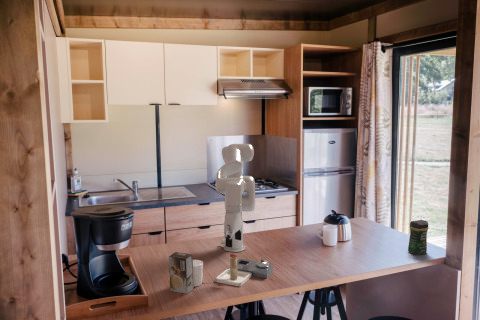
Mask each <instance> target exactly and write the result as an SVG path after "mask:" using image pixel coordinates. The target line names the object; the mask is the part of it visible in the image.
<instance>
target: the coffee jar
mask: <svg viewBox="0 0 480 320" xmlns="http://www.w3.org/2000/svg"><path fill="white" fill-rule="evenodd" d="M428 230H429V222H428V221H427V220H424V219H418V220H411V221H410V223H409V241H408V248H407V251H408V252H409V253H410V252H411V253H410V254H412V253H413V255H417V254H419V255H423V254H424V253H425V254H427V253H428V245H427V243H428V242H427V240H428V239H427V237H428V236H427V235H428Z"/></svg>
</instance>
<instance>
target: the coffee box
mask: <svg viewBox="0 0 480 320" xmlns="http://www.w3.org/2000/svg"><path fill="white" fill-rule="evenodd" d="M193 260H194V259H193V254H192V253H186V252H177V251H174V252H173V253H171V254H170V255H169V256H168V273H169V292H174V293H181V294H185V295H187V294H190V292H191V291H192V290H193V289H194V286H193Z"/></svg>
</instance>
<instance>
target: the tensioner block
mask: <svg viewBox="0 0 480 320" xmlns="http://www.w3.org/2000/svg"><path fill="white" fill-rule="evenodd" d="M237 270H239V271H244V272H250V273H252V276H251V277H258V278H263V279H268V278H269V277H270V276H271V275H272V274H273V273H274V264H272V263H269V260H267V259H263V258H261V259H258V260H251V259H244V258H238V259H237Z"/></svg>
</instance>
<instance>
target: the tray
mask: <svg viewBox="0 0 480 320" xmlns="http://www.w3.org/2000/svg"><path fill="white" fill-rule="evenodd" d="M252 277H253V276H252V273H250V272H244V271H239V270H237V280H231V279H230V268H226V269H225V270H224V271H222V272H221V273H220V274H219V275H218V276H216V277H215V278H214V282H216V283H219V284H220V283H221V284H225V285H228V286H229V285H230V286H231V285H232V286H236V287H240V288H241V287H242V286H243V285H244V284H245V283H246V282H247V281H248V280H249V279H251V278H252Z"/></svg>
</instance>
